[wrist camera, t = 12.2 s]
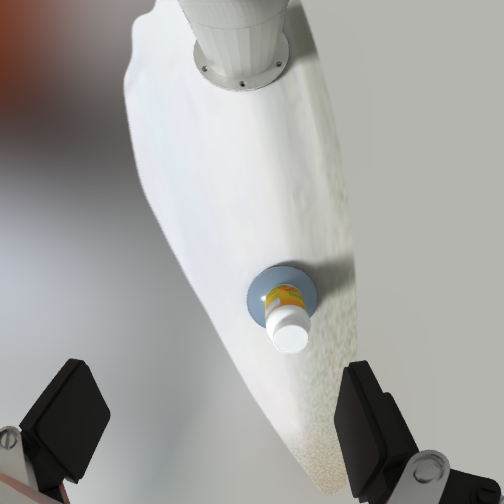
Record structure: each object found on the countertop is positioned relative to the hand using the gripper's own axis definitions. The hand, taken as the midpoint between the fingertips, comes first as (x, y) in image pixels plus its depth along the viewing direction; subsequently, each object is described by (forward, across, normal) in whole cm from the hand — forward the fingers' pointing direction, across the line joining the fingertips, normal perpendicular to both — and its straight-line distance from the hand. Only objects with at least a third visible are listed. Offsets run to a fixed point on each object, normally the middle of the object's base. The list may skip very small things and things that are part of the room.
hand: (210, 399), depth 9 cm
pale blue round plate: (+30, -5, +11) cm, 33 cm away
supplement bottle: (+29, -5, +11) cm, 31 cm away
